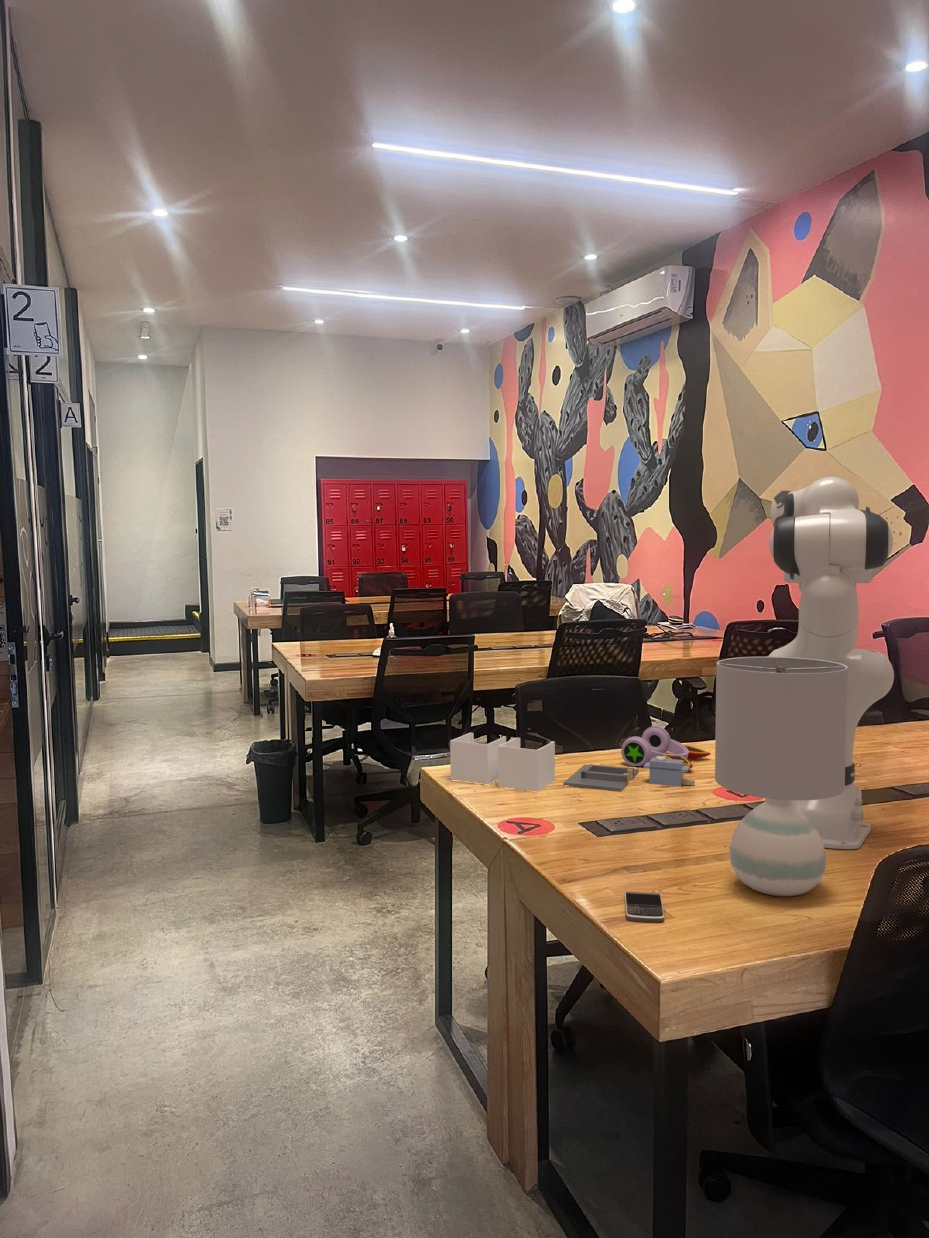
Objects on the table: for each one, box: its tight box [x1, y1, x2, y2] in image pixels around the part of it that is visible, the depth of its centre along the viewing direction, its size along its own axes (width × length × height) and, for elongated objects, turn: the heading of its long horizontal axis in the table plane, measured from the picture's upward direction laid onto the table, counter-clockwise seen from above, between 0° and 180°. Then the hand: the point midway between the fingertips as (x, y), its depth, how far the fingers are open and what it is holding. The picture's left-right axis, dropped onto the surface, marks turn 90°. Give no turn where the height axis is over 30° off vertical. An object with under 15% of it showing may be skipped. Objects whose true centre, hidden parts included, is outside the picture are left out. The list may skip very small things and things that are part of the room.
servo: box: [643, 756, 696, 787], centre depth 226 cm, size 4×12×7 cm, turn 67°
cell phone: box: [624, 891, 665, 923], centre depth 149 cm, size 6×11×1 cm, turn 171°
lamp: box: [714, 656, 848, 897], centre depth 155 cm, size 22×22×40 cm
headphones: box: [620, 725, 712, 769], centre depth 248 cm, size 20×10×20 cm
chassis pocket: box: [563, 763, 640, 792], centre depth 231 cm, size 20×15×2 cm
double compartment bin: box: [449, 732, 556, 791], centre depth 229 cm, size 25×11×11 cm, turn 61°
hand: (826, 601), depth 215 cm, fingers open, 8 cm apart
